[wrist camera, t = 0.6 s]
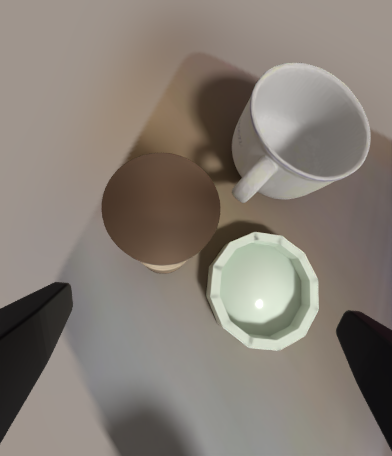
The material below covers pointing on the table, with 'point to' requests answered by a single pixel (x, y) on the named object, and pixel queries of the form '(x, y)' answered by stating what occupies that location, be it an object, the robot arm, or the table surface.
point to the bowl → (263, 291)
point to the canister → (161, 210)
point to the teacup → (298, 133)
